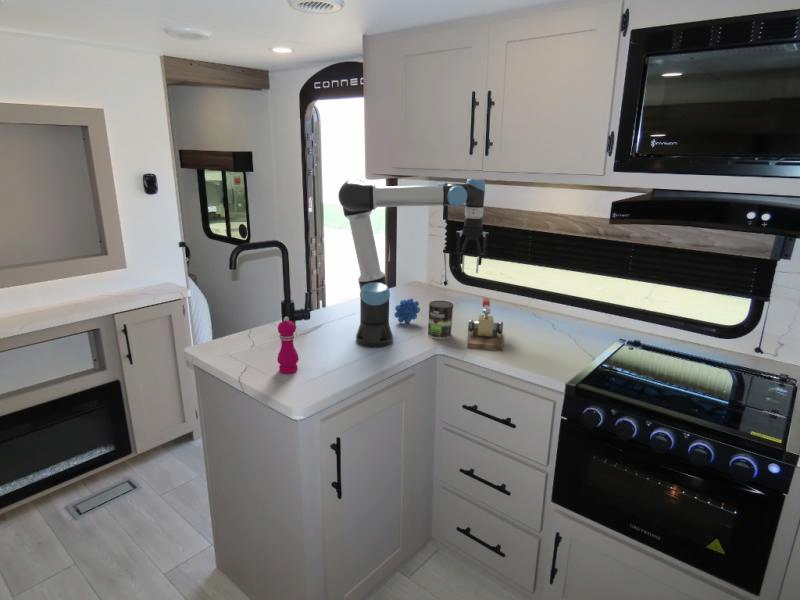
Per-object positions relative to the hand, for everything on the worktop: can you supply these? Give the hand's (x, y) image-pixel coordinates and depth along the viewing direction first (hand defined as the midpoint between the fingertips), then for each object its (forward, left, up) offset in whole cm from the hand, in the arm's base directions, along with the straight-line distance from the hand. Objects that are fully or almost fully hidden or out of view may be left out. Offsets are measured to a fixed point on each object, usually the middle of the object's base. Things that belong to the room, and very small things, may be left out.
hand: (469, 271), depth 208 cm
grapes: (-27, +5, -27) cm, 39 cm away
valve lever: (+8, -4, -15) cm, 17 cm away
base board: (+8, -10, -27) cm, 30 cm away
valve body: (+8, -10, -25) cm, 28 cm away
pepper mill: (-61, -55, -27) cm, 86 cm away
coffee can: (-11, -8, -27) cm, 30 cm away
